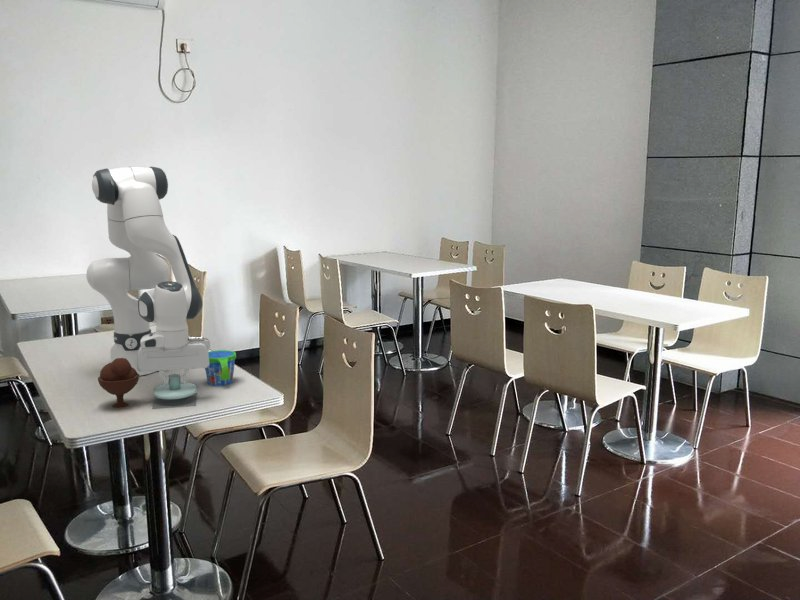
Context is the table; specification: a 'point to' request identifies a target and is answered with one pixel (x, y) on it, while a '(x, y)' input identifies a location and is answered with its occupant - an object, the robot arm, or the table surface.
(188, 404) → the mat
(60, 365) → the table surface
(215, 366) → the snack cup
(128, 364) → the ice cream bowl
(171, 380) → the lid
